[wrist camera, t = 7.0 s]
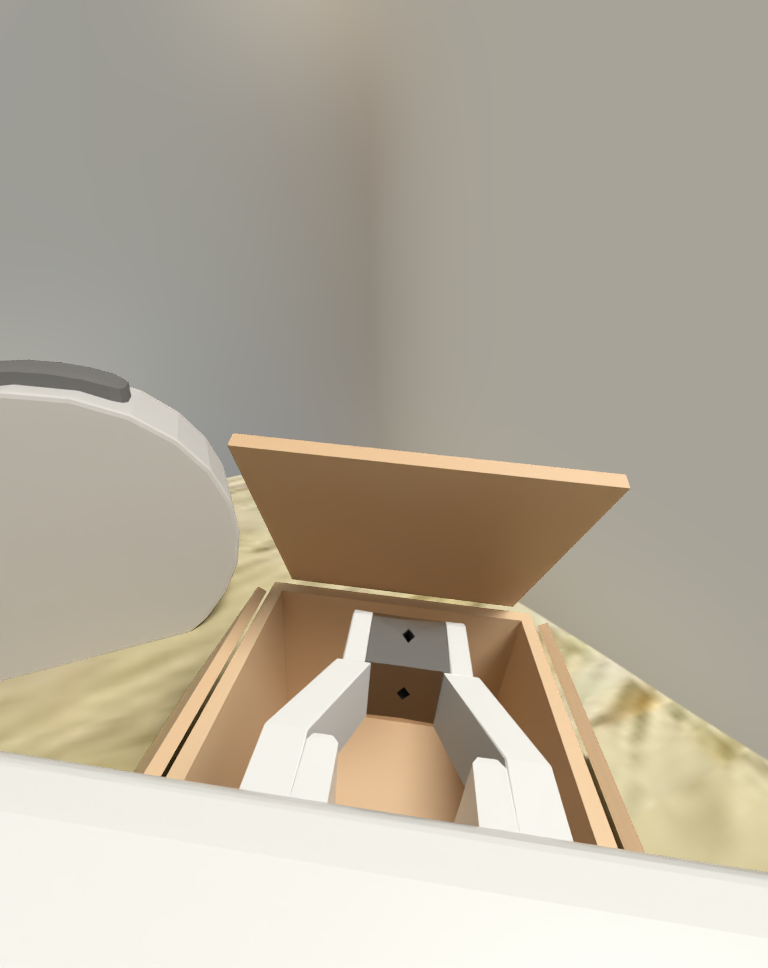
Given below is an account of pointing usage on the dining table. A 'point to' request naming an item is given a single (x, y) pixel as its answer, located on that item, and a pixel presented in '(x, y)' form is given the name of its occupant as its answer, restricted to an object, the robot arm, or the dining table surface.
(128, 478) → the alarm clock
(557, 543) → the flap
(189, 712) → the carton
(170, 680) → the dining table surface
